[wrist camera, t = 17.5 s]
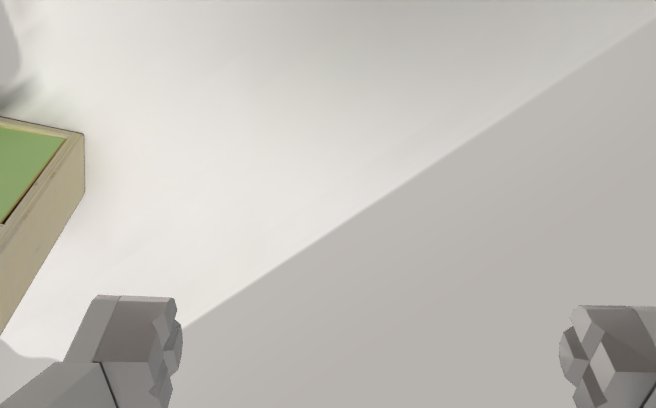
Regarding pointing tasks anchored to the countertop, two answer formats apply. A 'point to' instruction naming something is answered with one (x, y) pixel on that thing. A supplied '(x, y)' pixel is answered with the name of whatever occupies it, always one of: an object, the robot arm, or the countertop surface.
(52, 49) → the countertop surface
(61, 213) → the toy refrigerator
